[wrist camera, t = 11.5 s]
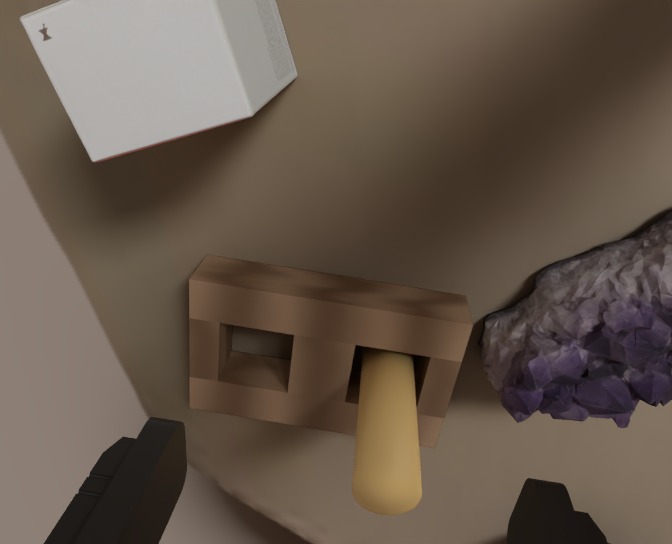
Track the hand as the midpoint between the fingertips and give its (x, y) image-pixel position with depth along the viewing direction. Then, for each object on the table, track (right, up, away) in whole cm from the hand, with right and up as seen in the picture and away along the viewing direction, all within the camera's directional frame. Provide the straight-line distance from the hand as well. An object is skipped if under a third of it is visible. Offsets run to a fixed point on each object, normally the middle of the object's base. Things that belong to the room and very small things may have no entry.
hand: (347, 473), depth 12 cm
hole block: (-1, -1, +30) cm, 30 cm away
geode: (+20, +3, +27) cm, 33 cm away
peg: (+4, -1, +30) cm, 30 cm away
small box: (-7, +19, +20) cm, 29 cm away
